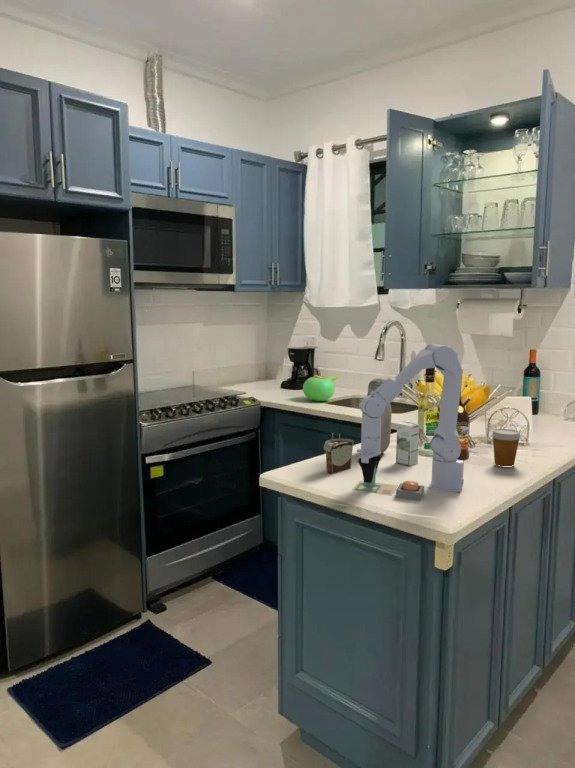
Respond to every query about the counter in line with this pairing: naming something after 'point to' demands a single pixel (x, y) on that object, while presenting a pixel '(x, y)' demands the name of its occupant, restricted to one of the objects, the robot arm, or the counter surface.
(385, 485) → the card sheet
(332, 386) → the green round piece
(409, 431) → the syrup box
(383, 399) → the robot arm
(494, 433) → the disposable coffee cup
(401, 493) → the button housing
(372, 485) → the teal rounded cylinder
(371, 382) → the grey bottle
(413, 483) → the button
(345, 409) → the counter surface
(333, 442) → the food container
